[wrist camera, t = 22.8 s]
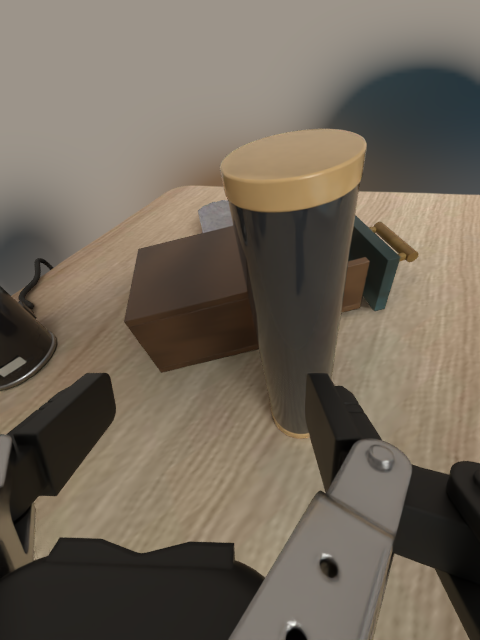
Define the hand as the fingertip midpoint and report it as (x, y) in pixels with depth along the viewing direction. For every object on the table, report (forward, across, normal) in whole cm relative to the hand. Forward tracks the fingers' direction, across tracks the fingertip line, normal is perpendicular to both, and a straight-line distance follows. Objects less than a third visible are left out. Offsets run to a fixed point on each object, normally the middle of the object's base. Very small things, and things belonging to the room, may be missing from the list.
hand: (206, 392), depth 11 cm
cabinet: (+23, +3, +4) cm, 24 cm away
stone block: (+42, +2, -6) cm, 42 cm away
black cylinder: (+12, -6, +9) cm, 16 cm away
